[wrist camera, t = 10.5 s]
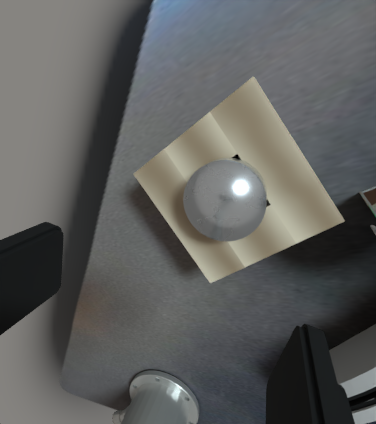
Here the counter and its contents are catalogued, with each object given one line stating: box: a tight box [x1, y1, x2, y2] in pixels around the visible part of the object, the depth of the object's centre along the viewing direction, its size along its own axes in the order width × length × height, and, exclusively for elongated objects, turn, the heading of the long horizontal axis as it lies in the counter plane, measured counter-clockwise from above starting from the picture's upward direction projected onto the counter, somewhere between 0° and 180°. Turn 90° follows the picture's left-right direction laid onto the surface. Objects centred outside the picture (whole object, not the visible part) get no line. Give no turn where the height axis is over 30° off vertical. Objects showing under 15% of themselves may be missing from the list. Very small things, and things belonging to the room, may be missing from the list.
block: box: [134, 76, 345, 283], centre depth 26 cm, size 14×14×6 cm
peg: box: [183, 158, 267, 241], centre depth 25 cm, size 7×7×8 cm
